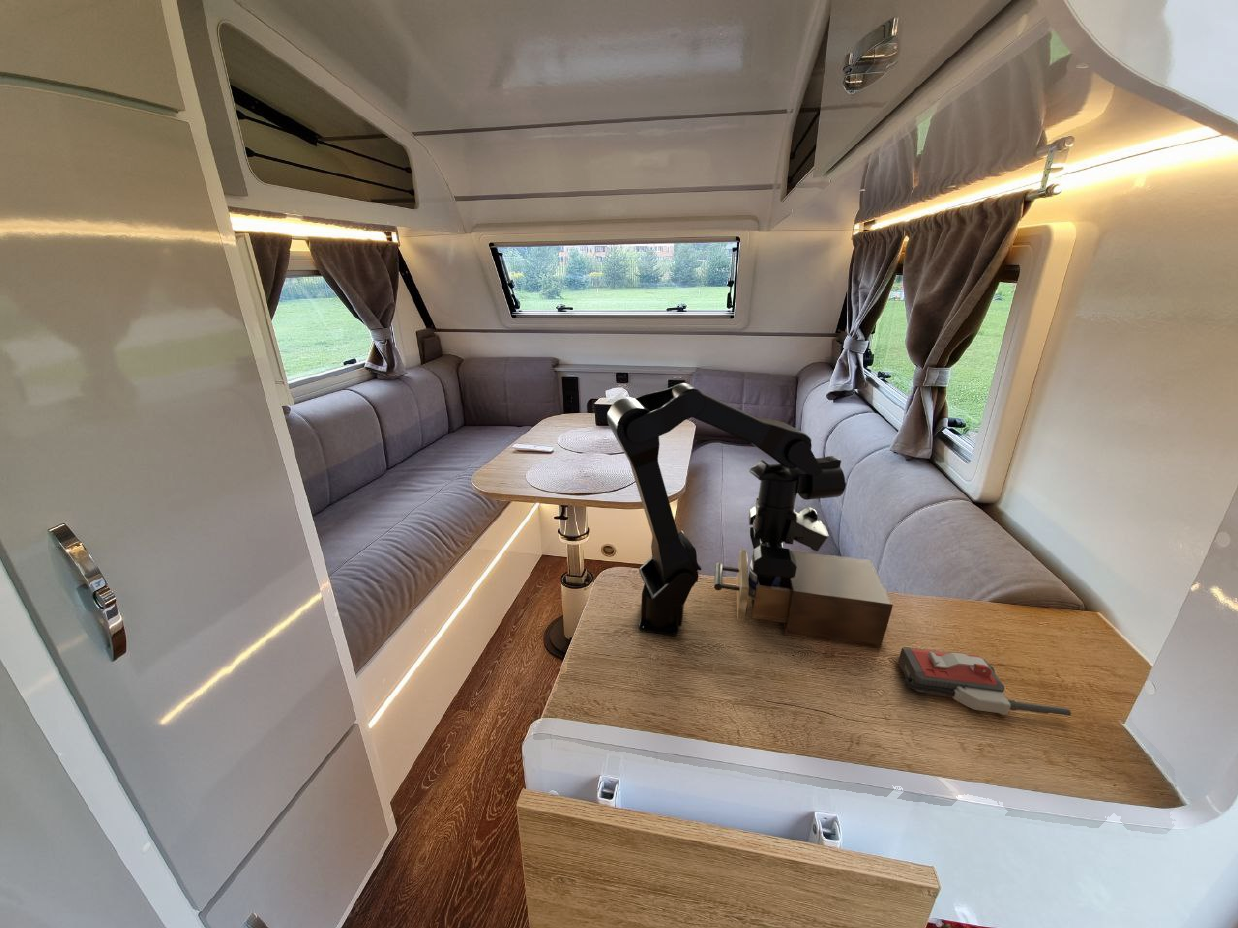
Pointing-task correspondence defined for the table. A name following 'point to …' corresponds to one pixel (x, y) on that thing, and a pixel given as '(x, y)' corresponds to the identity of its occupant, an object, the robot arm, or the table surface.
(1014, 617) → the table surface
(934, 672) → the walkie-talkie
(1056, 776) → the table surface
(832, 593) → the cabinet
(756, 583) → the pill bottle
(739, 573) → the drawer
